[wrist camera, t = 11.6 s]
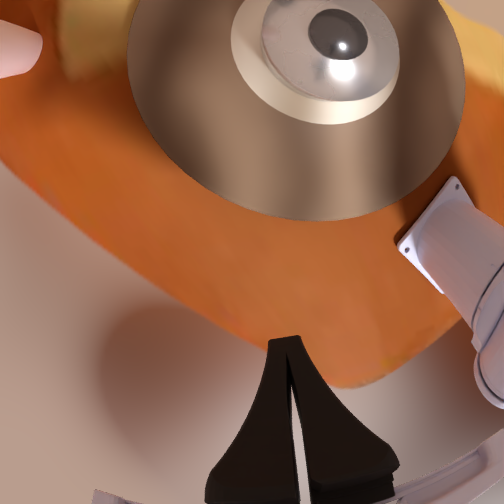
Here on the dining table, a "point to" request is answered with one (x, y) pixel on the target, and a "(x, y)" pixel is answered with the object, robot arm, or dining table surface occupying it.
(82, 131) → the dining table surface
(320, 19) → the cover
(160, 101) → the turntable
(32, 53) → the smoothie
